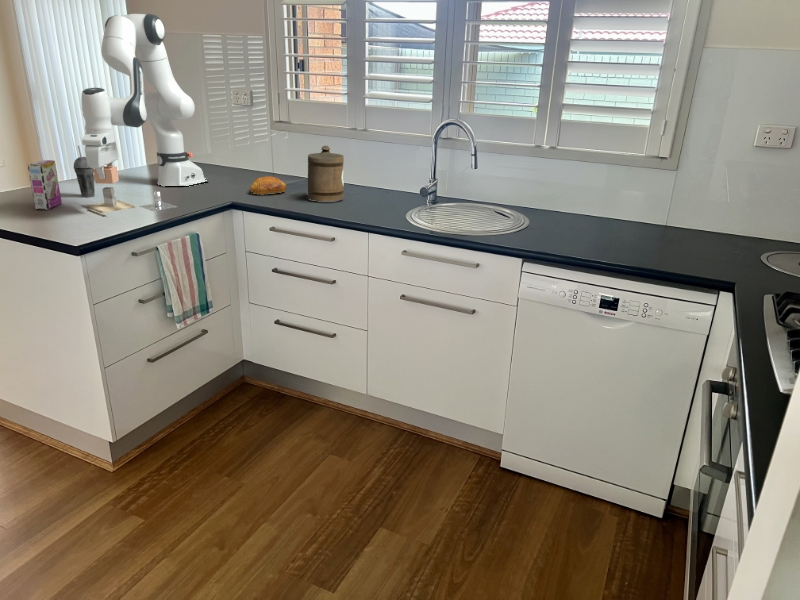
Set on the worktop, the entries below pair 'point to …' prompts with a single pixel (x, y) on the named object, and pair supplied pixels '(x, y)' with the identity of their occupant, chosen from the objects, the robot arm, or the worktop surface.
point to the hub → (109, 203)
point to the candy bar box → (44, 184)
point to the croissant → (267, 185)
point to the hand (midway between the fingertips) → (106, 176)
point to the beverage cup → (84, 176)
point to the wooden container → (325, 176)
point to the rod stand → (157, 203)
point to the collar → (107, 175)
